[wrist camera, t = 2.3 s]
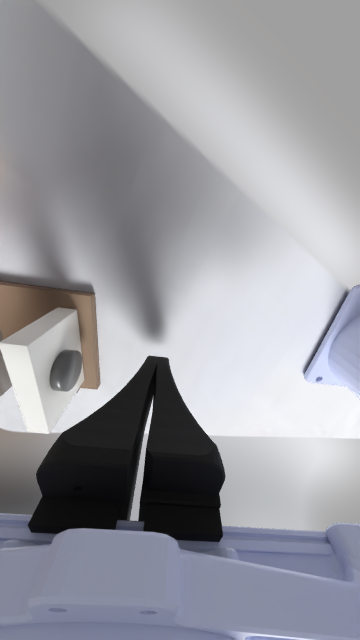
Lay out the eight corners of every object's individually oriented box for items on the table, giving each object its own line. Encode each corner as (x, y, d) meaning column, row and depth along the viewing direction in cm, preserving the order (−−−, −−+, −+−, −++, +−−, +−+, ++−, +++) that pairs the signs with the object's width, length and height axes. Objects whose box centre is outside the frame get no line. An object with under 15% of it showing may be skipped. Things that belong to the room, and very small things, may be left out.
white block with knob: (86, 310, 12) (41, 347, 8) (92, 389, 15) (62, 444, 11) (58, 307, 12) (-2, 343, 8) (70, 386, 15) (30, 441, 11)
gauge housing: (94, 293, 12) (44, 328, 8) (100, 384, 16) (67, 445, 11) (-33, 277, 12) (-167, 303, 7) (1, 374, 15) (-76, 434, 11)
